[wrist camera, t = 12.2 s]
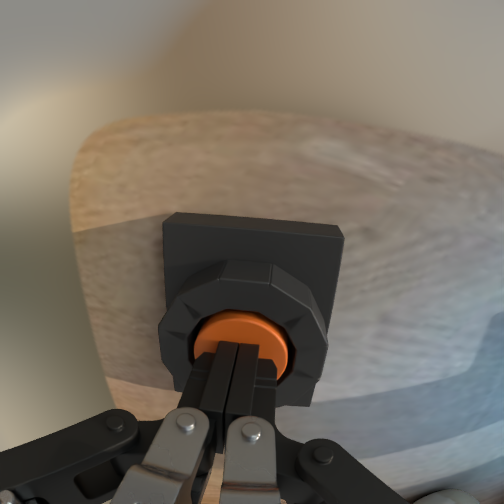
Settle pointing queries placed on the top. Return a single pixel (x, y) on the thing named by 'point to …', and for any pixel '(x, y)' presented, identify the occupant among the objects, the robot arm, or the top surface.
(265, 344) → the button
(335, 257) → the button block
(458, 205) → the top surface
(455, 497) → the off-white tall tapered cylinder
